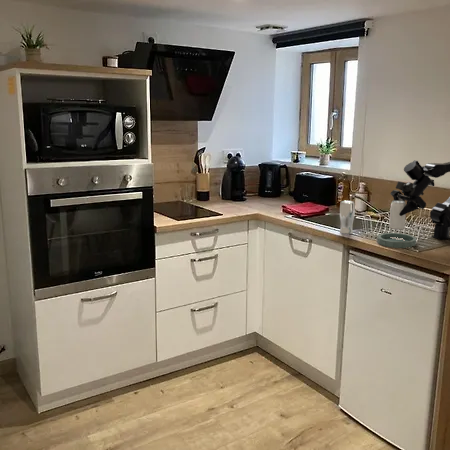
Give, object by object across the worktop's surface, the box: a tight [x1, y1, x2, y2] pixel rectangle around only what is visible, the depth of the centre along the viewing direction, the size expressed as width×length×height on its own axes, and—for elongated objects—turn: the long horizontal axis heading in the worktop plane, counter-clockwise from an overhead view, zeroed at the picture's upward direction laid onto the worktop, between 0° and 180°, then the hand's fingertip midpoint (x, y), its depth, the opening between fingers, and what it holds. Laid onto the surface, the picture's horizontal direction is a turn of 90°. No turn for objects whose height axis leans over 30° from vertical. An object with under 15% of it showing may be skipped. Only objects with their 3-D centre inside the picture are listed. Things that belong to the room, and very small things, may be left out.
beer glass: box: [339, 200, 356, 235], centre depth 240 cm, size 7×7×15 cm
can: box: [389, 199, 407, 231], centre depth 220 cm, size 6×6×12 cm
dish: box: [377, 232, 418, 249], centre depth 222 cm, size 16×16×2 cm
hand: (395, 213), depth 220 cm, fingers closed on can, 6 cm apart
